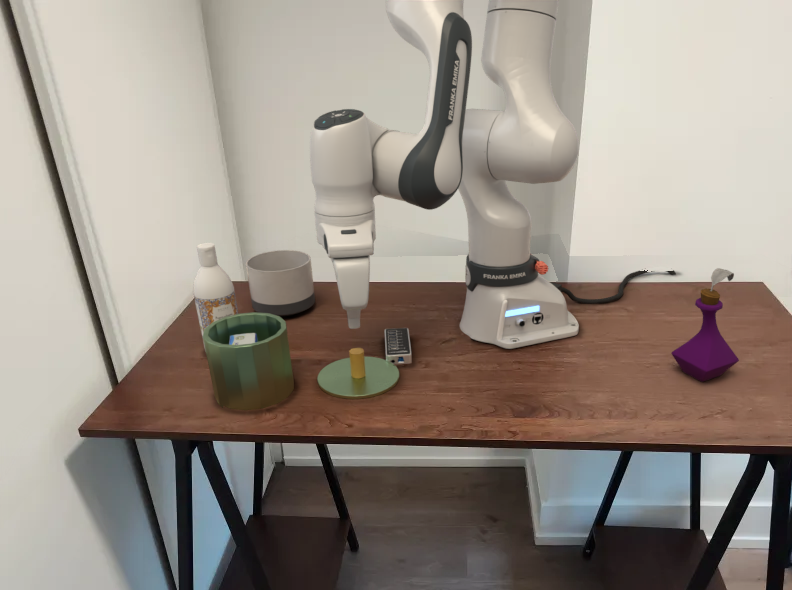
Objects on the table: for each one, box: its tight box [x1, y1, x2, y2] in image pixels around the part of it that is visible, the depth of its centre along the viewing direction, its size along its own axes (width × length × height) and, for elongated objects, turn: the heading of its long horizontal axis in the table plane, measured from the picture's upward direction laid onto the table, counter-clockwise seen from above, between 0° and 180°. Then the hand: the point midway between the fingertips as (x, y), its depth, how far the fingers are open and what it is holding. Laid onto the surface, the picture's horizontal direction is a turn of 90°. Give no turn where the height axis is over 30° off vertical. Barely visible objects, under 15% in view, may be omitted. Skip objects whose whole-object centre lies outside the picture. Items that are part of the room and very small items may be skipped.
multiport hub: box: [384, 327, 413, 365], centre depth 123 cm, size 4×11×2 cm, turn 3°
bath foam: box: [192, 242, 239, 353], centre depth 121 cm, size 7×7×20 cm
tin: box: [202, 311, 295, 411], centre depth 109 cm, size 13×13×12 cm
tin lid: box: [316, 347, 400, 400], centre depth 113 cm, size 14×14×6 cm
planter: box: [245, 249, 316, 318], centre depth 139 cm, size 13×13×10 cm
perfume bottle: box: [670, 267, 740, 383], centre depth 109 cm, size 8×8×18 cm
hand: (351, 314), depth 108 cm, fingers open, 8 cm apart
